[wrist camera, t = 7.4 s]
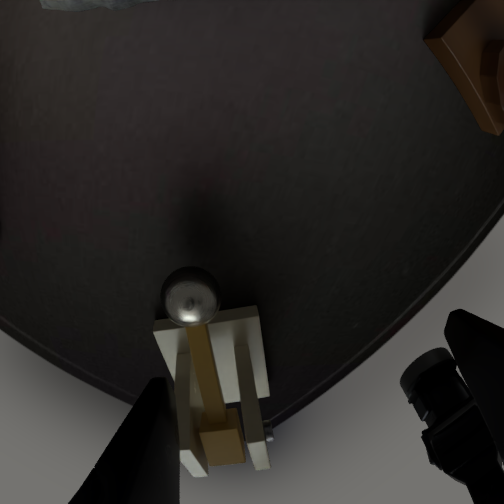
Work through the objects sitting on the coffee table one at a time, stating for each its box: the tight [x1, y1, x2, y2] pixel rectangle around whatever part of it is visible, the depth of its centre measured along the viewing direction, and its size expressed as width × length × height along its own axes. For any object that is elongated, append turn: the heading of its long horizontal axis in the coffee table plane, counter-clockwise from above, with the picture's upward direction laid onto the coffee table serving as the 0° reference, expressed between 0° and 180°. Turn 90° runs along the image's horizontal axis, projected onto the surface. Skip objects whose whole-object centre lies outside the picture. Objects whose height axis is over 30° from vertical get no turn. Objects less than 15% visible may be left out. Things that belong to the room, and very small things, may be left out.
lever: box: [160, 266, 246, 466], centre depth 16 cm, size 12×3×3 cm, turn 7°
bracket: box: [153, 305, 274, 477], centre depth 19 cm, size 9×7×9 cm
